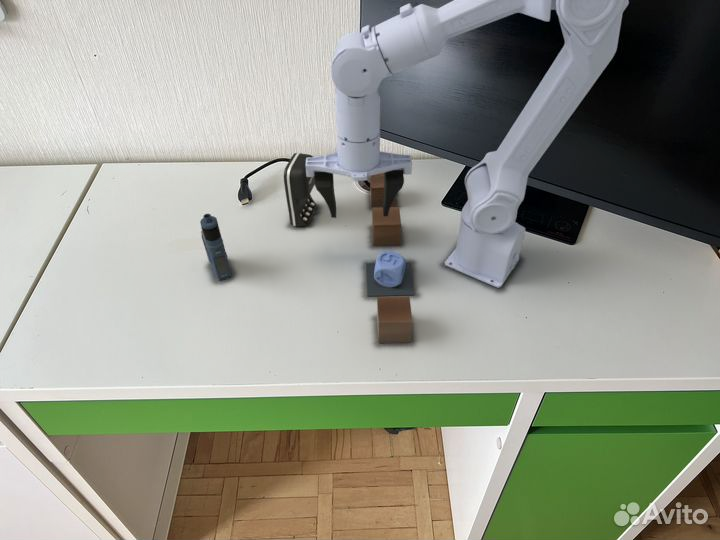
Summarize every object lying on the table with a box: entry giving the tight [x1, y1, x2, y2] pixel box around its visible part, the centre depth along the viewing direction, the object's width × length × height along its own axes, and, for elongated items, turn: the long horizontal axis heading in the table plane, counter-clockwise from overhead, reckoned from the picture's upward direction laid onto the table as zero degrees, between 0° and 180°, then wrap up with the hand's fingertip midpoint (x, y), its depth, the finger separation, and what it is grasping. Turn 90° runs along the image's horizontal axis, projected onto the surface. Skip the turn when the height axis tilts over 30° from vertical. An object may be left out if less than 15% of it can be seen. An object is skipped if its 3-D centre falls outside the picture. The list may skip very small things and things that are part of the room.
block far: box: [369, 173, 398, 209], centre depth 95 cm, size 4×4×4 cm
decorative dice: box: [374, 250, 406, 287], centre depth 81 cm, size 4×4×4 cm
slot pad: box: [365, 261, 415, 298], centre depth 82 cm, size 7×7×1 cm
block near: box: [376, 296, 413, 344], centre depth 73 cm, size 4×4×4 cm
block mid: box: [371, 206, 402, 247], centre depth 88 cm, size 4×4×4 cm
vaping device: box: [199, 213, 233, 281], centre depth 80 cm, size 3×5×12 cm, turn 28°
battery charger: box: [283, 152, 317, 227], centre depth 89 cm, size 7×4×11 cm, turn 166°
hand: (359, 212), depth 79 cm, fingers open, 7 cm apart
